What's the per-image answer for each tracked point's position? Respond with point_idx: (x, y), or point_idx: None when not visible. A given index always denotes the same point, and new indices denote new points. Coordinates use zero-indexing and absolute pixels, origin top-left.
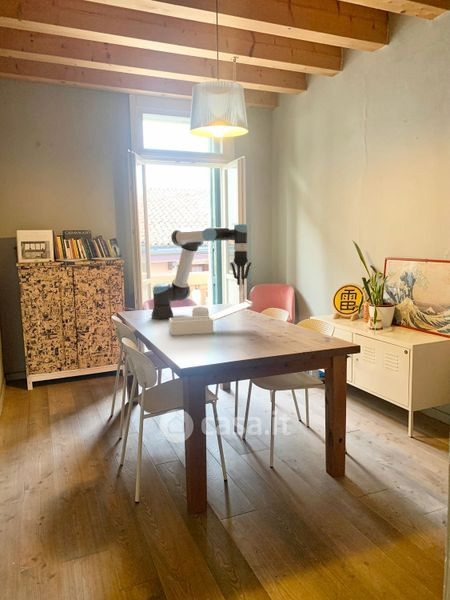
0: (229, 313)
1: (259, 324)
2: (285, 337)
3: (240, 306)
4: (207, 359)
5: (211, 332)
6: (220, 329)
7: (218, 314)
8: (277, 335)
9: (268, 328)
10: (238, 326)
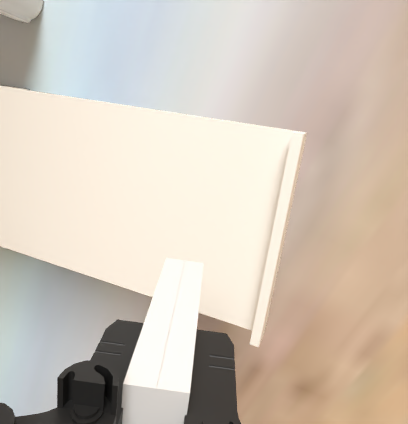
0: (82, 267)
1: (380, 90)
2: (314, 412)
3: (194, 217)
4: None
5: None
6: None
7: (30, 164)
8: (305, 371)
9: (358, 223)
10: (225, 94)
